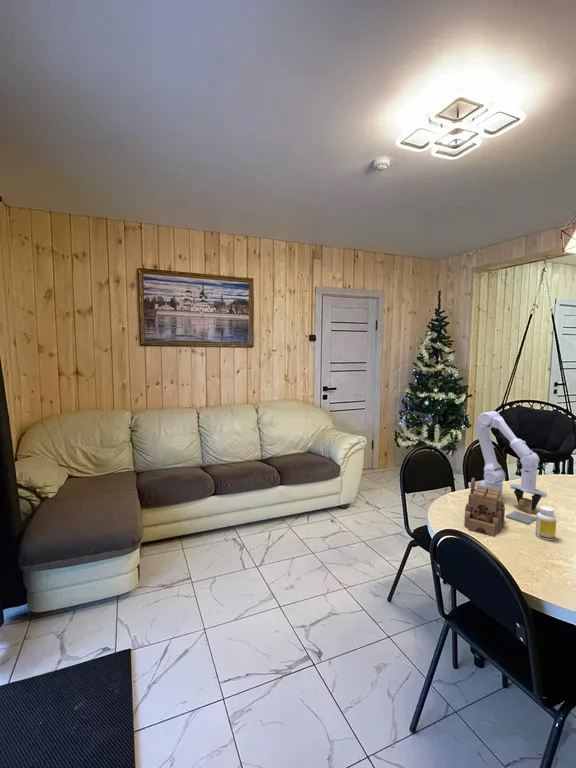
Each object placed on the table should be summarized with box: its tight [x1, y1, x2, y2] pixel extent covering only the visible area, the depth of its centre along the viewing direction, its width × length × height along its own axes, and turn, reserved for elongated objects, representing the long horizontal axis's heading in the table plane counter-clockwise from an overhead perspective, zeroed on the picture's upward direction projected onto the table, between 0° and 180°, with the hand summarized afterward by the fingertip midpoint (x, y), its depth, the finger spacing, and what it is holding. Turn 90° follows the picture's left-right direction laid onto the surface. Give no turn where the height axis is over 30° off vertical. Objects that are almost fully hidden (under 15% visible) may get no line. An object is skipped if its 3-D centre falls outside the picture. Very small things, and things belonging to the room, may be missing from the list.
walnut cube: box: [518, 497, 536, 515], centre depth 174 cm, size 5×5×5 cm
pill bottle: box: [535, 505, 557, 541], centre depth 149 cm, size 6×6×12 cm
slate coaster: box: [505, 510, 536, 525], centre depth 166 cm, size 9×9×1 cm
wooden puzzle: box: [463, 477, 506, 537], centre depth 161 cm, size 22×15×19 cm, turn 145°
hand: (526, 507), depth 174 cm, fingers closed on walnut cube, 5 cm apart
